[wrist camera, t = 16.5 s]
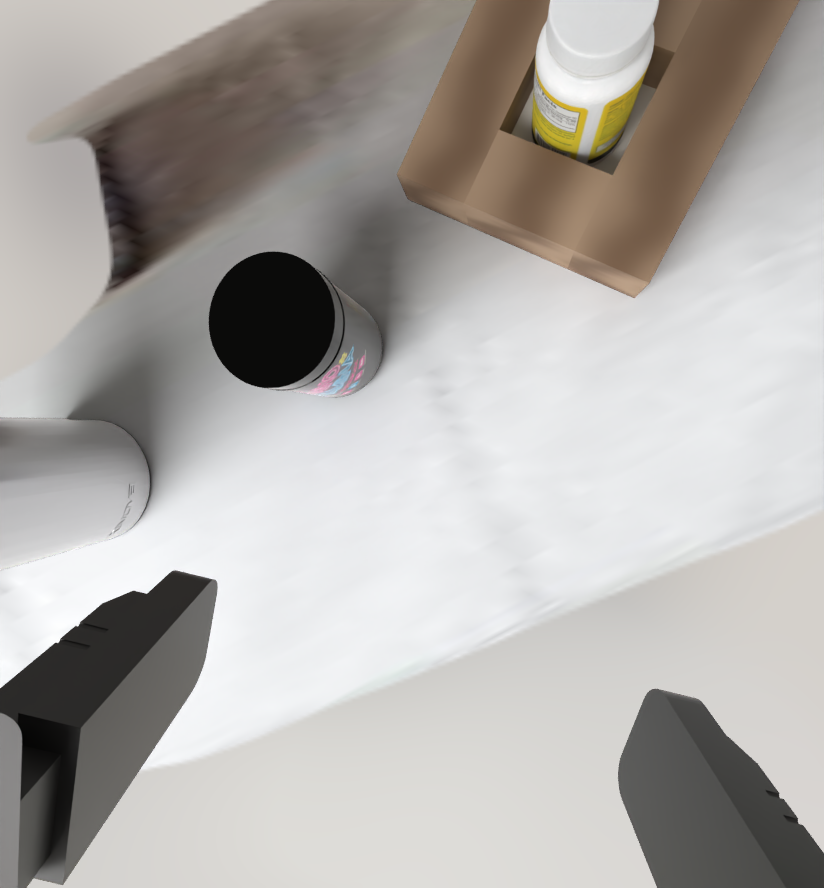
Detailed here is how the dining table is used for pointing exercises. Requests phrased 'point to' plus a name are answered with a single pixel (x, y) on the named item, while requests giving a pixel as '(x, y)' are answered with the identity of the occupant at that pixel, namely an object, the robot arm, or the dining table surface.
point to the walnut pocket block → (566, 180)
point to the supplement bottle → (590, 74)
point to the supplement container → (292, 328)
